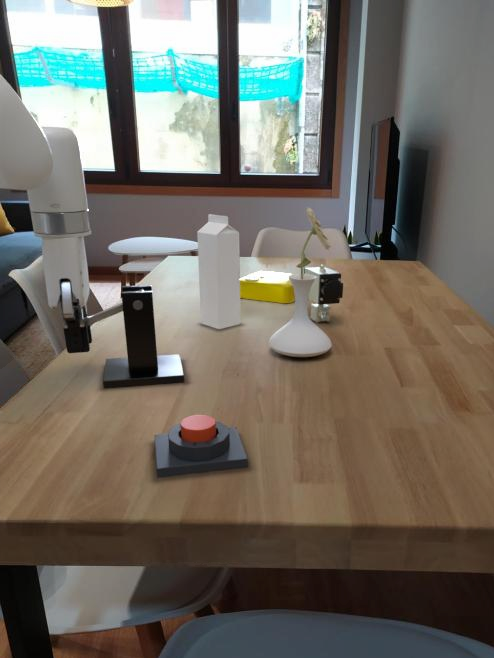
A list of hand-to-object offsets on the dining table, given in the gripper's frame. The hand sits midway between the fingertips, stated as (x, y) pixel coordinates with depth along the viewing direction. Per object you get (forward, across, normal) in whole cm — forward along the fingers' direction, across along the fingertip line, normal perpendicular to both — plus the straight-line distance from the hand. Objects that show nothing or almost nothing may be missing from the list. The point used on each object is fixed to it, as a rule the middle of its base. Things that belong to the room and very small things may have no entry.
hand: (80, 346), depth 83 cm
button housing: (+5, +28, +15) cm, 32 cm away
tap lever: (-3, 0, +5) cm, 6 cm away
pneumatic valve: (+6, -25, +47) cm, 54 cm away
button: (+2, +28, +15) cm, 32 cm away
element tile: (+6, -50, +42) cm, 66 cm away
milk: (+6, -26, +25) cm, 37 cm away
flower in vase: (+6, -6, +37) cm, 38 cm away
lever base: (+5, 0, +9) cm, 11 cm away
